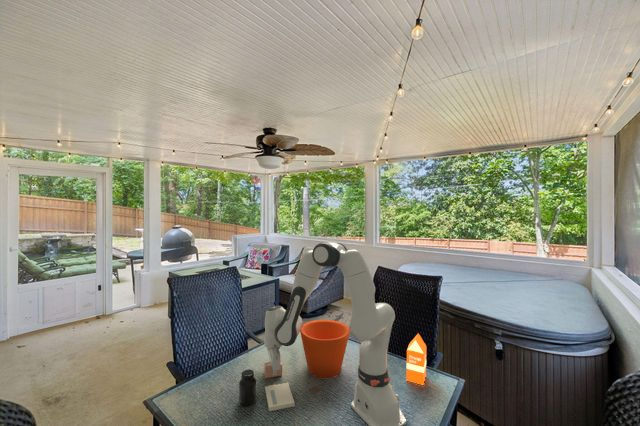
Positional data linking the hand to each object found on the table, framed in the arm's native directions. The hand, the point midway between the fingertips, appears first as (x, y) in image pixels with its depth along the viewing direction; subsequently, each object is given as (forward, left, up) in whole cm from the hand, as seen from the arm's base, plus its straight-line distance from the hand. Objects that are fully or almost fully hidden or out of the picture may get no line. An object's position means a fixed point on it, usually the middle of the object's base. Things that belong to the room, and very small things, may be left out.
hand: (273, 369), depth 132 cm
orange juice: (-22, -64, -2) cm, 68 cm away
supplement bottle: (-17, +13, -2) cm, 21 cm away
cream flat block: (-17, 0, -2) cm, 17 cm away
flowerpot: (-2, -25, -2) cm, 25 cm away
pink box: (0, 0, -2) cm, 2 cm away
